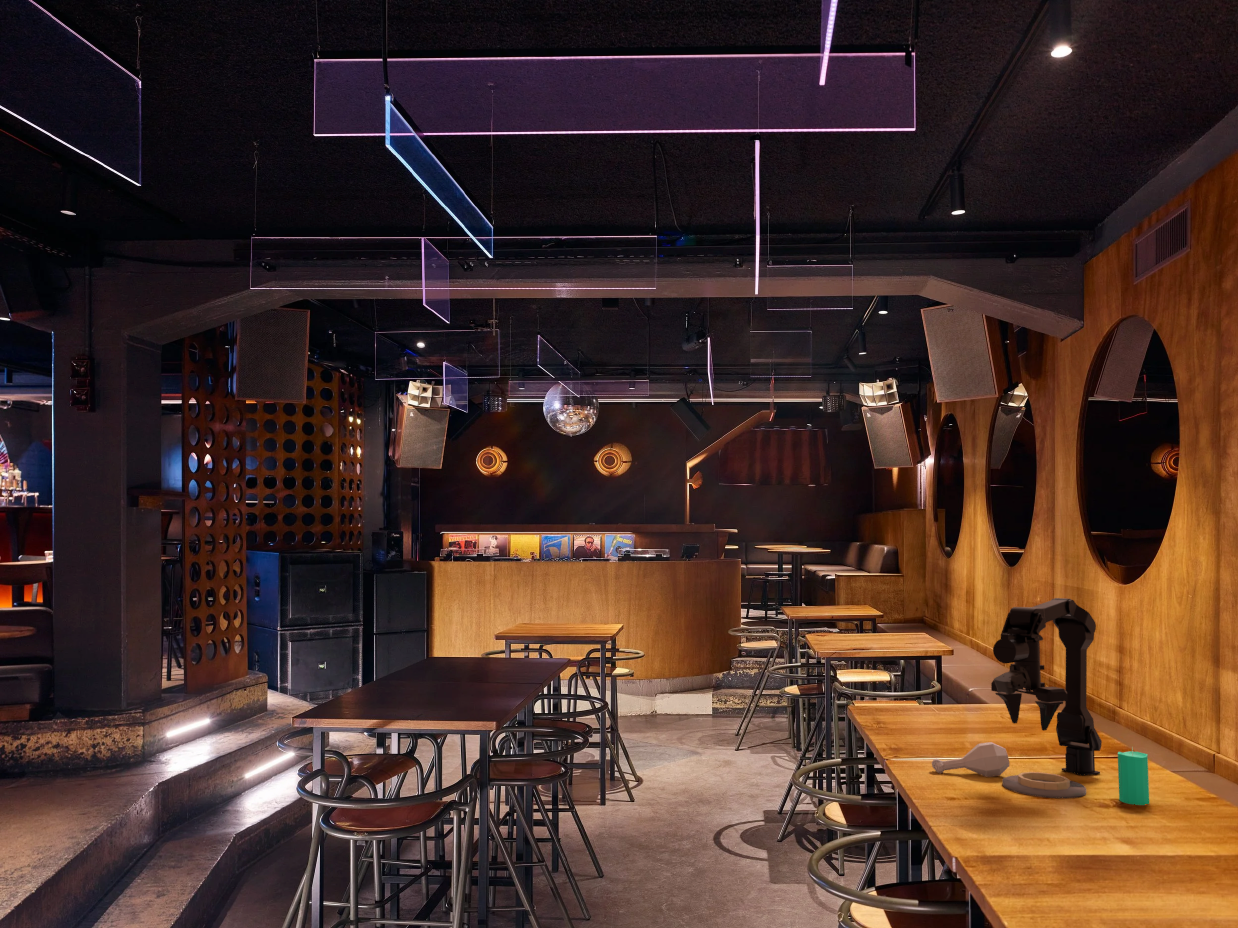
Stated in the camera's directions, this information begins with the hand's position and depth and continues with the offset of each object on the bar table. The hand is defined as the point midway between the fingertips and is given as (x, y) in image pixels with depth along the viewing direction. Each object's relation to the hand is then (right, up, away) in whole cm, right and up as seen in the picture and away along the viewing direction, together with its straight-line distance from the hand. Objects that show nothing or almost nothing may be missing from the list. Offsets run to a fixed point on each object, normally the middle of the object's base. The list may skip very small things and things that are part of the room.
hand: (1029, 726), depth 225 cm
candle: (+18, -13, -14) cm, 26 cm away
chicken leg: (-10, -15, +11) cm, 21 cm away
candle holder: (+2, -14, -3) cm, 14 cm away
